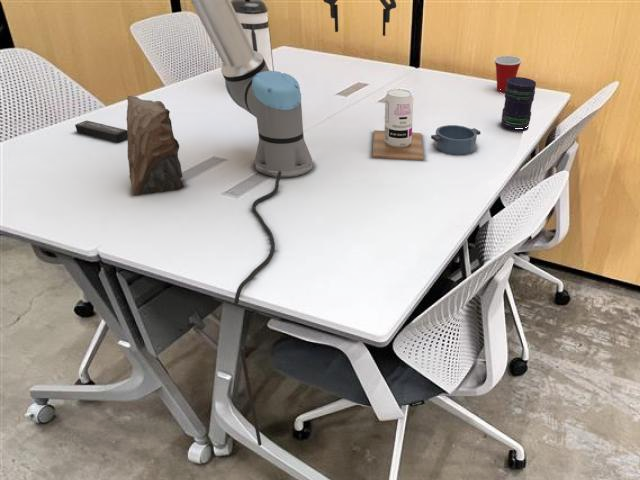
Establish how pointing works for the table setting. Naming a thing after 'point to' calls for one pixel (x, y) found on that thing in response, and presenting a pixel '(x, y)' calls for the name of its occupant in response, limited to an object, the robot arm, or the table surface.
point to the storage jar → (518, 103)
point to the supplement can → (398, 118)
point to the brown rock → (151, 148)
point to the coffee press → (255, 26)
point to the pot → (455, 139)
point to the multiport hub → (102, 131)
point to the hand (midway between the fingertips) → (360, 33)
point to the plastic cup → (506, 70)
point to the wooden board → (386, 151)
